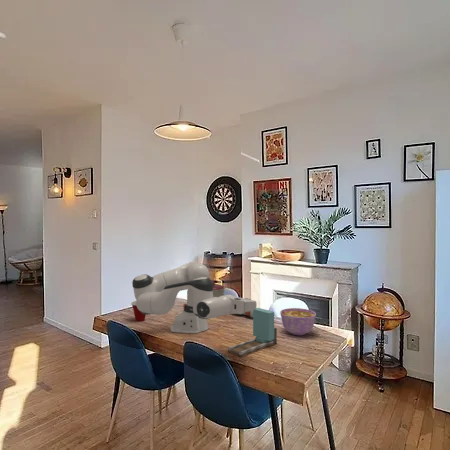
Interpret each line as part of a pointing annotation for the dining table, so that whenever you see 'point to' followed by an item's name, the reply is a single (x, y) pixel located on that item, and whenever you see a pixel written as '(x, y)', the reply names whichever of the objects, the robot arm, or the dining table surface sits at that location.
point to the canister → (218, 290)
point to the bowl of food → (298, 320)
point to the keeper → (263, 325)
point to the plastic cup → (138, 313)
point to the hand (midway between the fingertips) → (248, 300)
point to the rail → (251, 346)
